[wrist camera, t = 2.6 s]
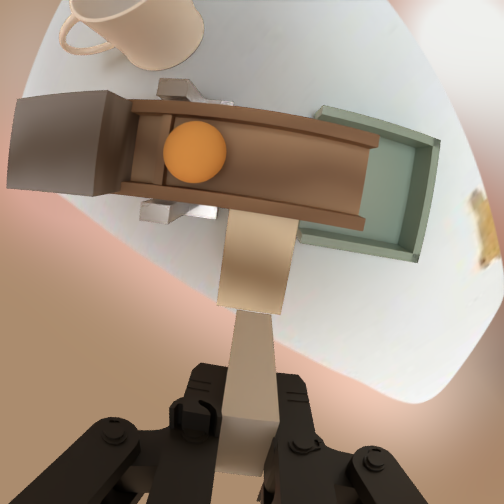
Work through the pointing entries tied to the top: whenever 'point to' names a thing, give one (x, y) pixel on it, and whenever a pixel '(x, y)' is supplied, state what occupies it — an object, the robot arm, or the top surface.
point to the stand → (171, 209)
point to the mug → (139, 29)
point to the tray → (385, 192)
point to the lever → (208, 192)
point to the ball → (194, 152)
